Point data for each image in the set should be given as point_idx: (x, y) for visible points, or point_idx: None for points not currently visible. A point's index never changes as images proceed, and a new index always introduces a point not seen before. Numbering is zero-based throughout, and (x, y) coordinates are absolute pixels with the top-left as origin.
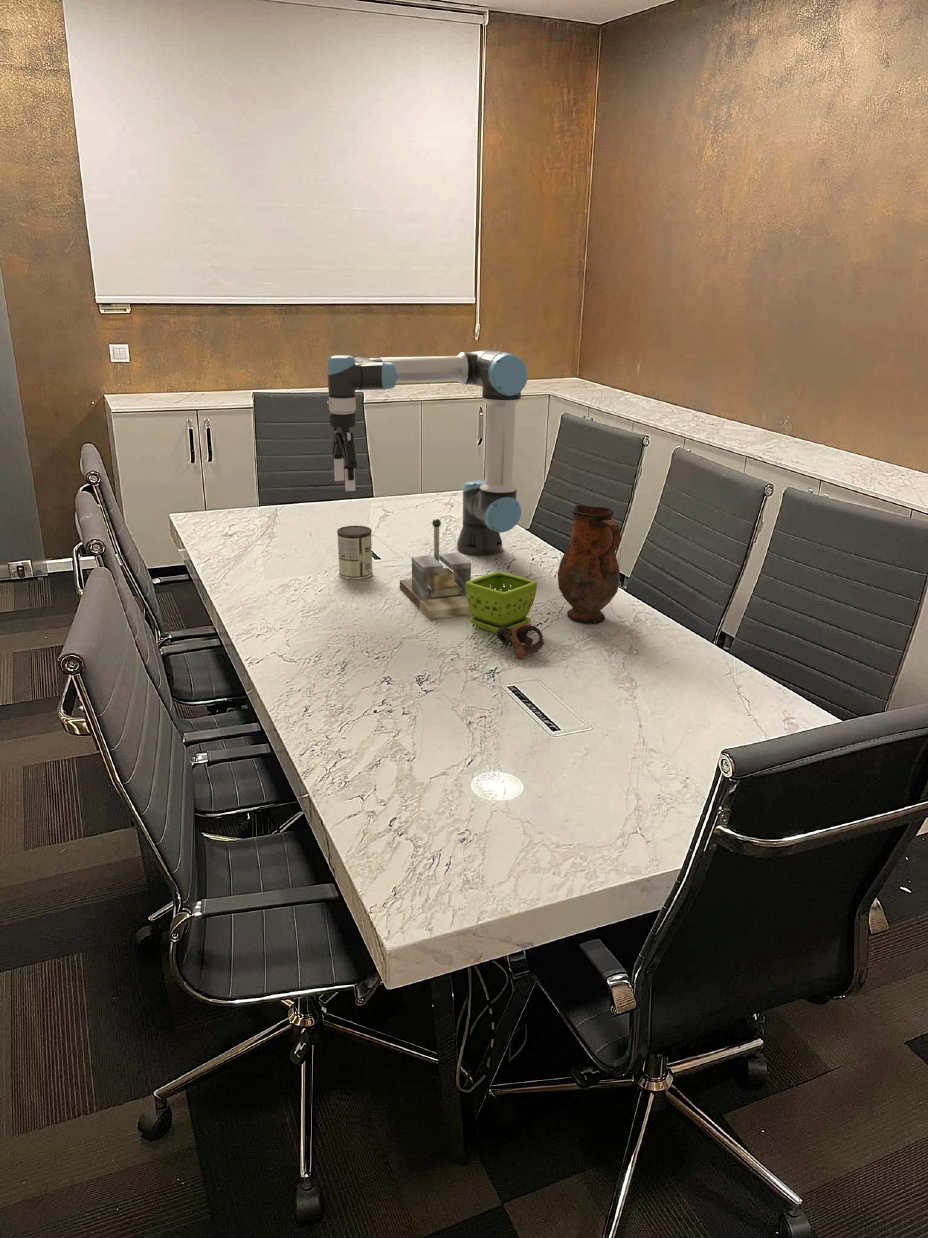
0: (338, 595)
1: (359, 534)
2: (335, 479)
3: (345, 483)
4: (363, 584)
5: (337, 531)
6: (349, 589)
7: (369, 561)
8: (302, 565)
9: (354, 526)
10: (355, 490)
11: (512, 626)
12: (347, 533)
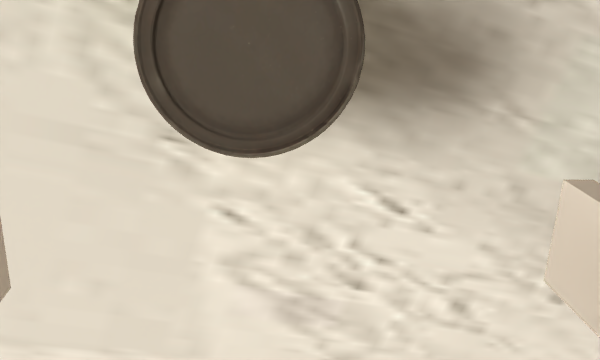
0: (472, 158)
1: (361, 44)
2: (3, 297)
3: (596, 329)
4: (390, 30)
5: (244, 157)
6: (425, 102)
7: None
8: (59, 211)
9: (156, 20)
10: (594, 180)
11: None
12: (302, 108)
